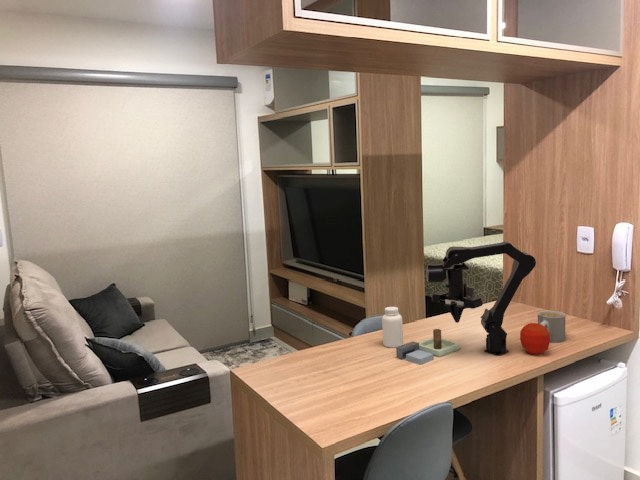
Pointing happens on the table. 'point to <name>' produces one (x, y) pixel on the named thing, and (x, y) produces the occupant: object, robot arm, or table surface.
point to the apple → (535, 338)
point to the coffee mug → (553, 324)
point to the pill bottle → (392, 328)
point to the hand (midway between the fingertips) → (457, 322)
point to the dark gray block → (406, 349)
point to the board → (419, 357)
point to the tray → (446, 349)
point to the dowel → (437, 339)
